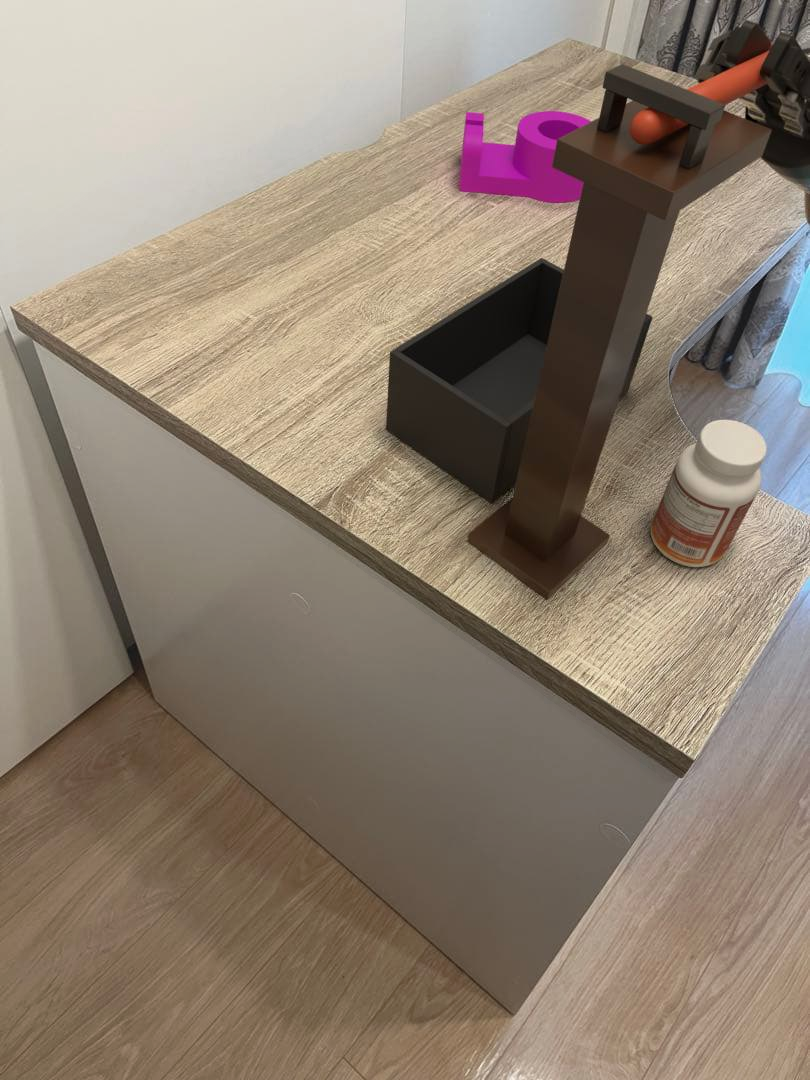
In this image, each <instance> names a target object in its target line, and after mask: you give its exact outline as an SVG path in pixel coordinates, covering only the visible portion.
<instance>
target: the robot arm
mask: <svg viewBox="0 0 810 1080" xmlns="http://www.w3.org/2000/svg"><path fill="white" fill-rule="evenodd" d="M769 50H770V51H769ZM767 51H769V53H768V55H767V57H766V58H765V60H764V62H763V64H762V66H761V69H760V75H761V76H762V77H763V78H764V80H765V81H766V83H767V84H765V85H764V86H762V87H760V88H758V89H756V90H754V91H752V92H750V93H748V94H746V95H744V96H742V97H740V98H738V99H737V100H739V101H740V102H741V103H742V104H743V105H744V106H745V108H744V109H745V110H744V119H747V120H749V121H752V122H754V123H757V124H759V125H762V126H764V127H767V128H769V129H772V131H771V134H770V136H769V139H768V141H767V144H766V147H765V149H764V152H763V155H762V156H761V157H760V158H759V159H761V160H762V161H763V162H764V163H765V164H767V165H768V166H769V168H771V169H772V170H773V171H774V172H775V173H776V174H778V176H780V177H781V178H783V180H784V179H785V180H786V181H787V182H790V183H792V184H794V185H795V186H796V187H797V188H798V189H800V190H802V191H803V194H804V196H803V198H804V199H803V200H804V215H805V221H806V222H807V225H808V226H809V227H810V47H806V48H802V47H801V45H800V43H799V42H798V41H797V39H796V37H795V36H794V35H792V34H788V33H787V32H780V33H779V34H778V35H777V37H776V38H775V40H774V42H773V41H771V40H770V39H769V37H768V36H767V34H766V33H765V31H764V30H763V28H762V27H761V25H760V24H759V23H756V22H754V21H752V20H748V19H745V20H744V21H743V22H742V24H741V26H738V25H736V26H735V28H734V29H730V30H728V31H726V32H724V33H722V34H720V35H718V36H717V37H715V38H713V39H712V41H711V43H710V45H709V46H708V49H707V50H706V53H705V55H704V57H703V59H702V61H701V62H700V65H699V67H698V68H697V70H696V73H695V74H694V76H693V79H695V80H696V81H697V84H699V83H701V82H704V81H706V80H708V79H710V78H712V77H714V76H716V75H718V74H720V73H723V72H725V71H727V70H729V69H731V68H733V67H735V66H737V65H739V64H742V63H744V62H746V61H748V60H750V59H752V58H754V57H756V56H758V55H761V54H763V53H765V52H767Z"/></svg>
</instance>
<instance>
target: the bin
mask: <svg viewBox="0 0 810 1080" xmlns="http://www.w3.org/2000/svg"><path fill="white" fill-rule="evenodd" d="M563 272H564V268H562V267H560V266H558V265H556V264H554V263H552V262H550V261H549V260H547V259H545V258H544V257H540V258H538V259H536V260H535V261H533V262H531V263H530V264H529V265H527V266H525V267H524V268H522V269H521V270H519V271H518V272H516V273H514V274H513V275H511V276H509V277H508V278H506V279H505V280H503V281H501V282H499V283H498V284H497V285H495V286H494V287H491V288H490V289H488V290H487V291H485V292H484V293H482V294H480V295H479V296H477V297H475V298H474V299H473V300H470V301H469V302H468V303H465V304H464V305H463V306H461V307H460V308H458V309H456V310H455V311H453V312H452V313H450V314H448V315H446V316H445V317H443V318H442V319H440V320H439V321H437V322H435V323H434V324H432V325H431V326H429V327H427V328H425V329H424V330H422V331H421V332H419V333H418V334H416V335H414V336H413V337H411V338H410V339H407V340H406V341H404V342H403V343H401V344H400V345H398V346H396V347H395V348H393V349H392V350H390V351H389V361H388V363H389V364H388V378H387V379H388V381H387V397H386V399H387V400H386V403H387V404H386V420H385V421H386V422H385V431H387V432H389V433H390V434H391V435H392V436H393V437H396V438H397V439H398V440H400V441H401V442H403V443H404V444H406V445H407V446H409V447H410V448H411V449H413V450H414V451H416V452H417V453H418V454H420V455H421V456H423V457H424V458H426V459H427V460H428V461H430V462H432V464H434V465H436V467H438V468H440V469H441V470H443V471H444V472H445V473H447V474H448V475H450V476H452V477H453V478H454V479H456V480H457V481H458V482H460V483H461V484H463V485H464V486H465V487H467V488H469V489H470V490H471V491H473V492H474V493H475V494H477V495H479V496H480V497H481V498H483V499H484V500H486V501H487V502H489V503H490V504H493V503H494V502H496V501H497V500H498V499H499V498H501V497H502V496H503V495H505V493H507V492H508V491H509V490H511V489H512V488H513V487H515V485H516V481H517V476H518V472H519V467H520V463H521V458H522V454H523V450H524V445H525V441H526V436H527V432H528V427H529V423H530V418H531V414H532V410H533V405H534V401H535V396H536V392H537V387H538V383H539V378H540V374H541V370H542V365H543V361H544V356H545V352H546V347H547V343H548V339H549V334H550V330H551V325H552V321H553V316H554V312H555V307H556V303H557V299H558V294H559V290H560V285H561V281H562V276H563ZM653 318H654V317H653V316H652V315H650V314H648V313H646V316H645V319H644V322H643V325H642V329H641V332H640V335H639V338H638V341H637V344H636V347H635V350H634V353H633V356H632V360H631V363H630V366H629V369H628V372H627V375H626V378H625V381H624V384H623V387H622V390H621V394H620V397H619V400H621V399H622V398H623V397H625V396H626V395H628V393H629V390H630V387H631V384H632V381H633V378H634V375H635V371H636V369H637V366H638V363H639V361H640V356H641V353H642V351H643V348H644V345H645V341H646V339H647V336H648V333H649V329H650V327H651V323H652V321H653Z"/></svg>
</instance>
